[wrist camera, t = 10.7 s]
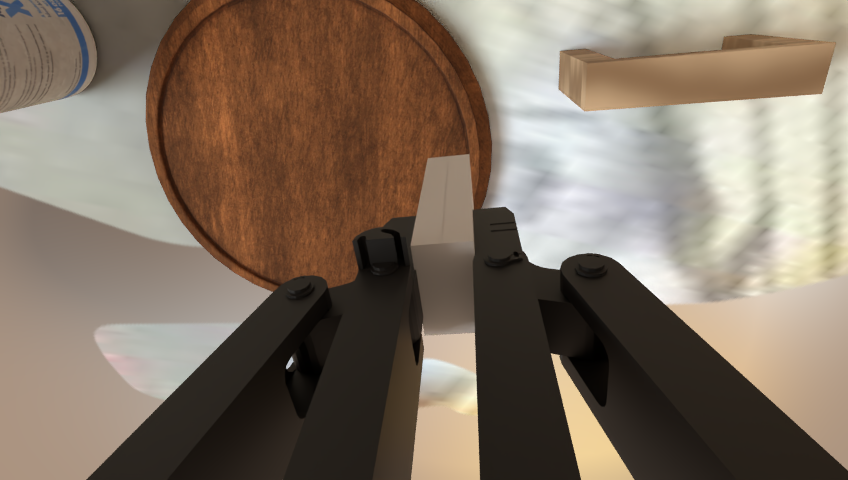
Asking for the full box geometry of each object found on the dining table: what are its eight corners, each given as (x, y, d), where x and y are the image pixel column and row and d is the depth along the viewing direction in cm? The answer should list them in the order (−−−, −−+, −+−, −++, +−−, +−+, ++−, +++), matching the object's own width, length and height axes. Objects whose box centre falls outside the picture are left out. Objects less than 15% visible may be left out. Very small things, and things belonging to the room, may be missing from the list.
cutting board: (513, -31, 36) (517, -33, 34) (473, 310, 51) (474, 324, 48) (113, -51, 38) (91, -55, 35) (185, 286, 52) (172, 299, 50)
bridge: (559, 51, 38) (587, 63, 30) (751, 34, 37) (836, 42, 28) (558, 89, 39) (584, 111, 31) (742, 74, 38) (822, 93, 30)
